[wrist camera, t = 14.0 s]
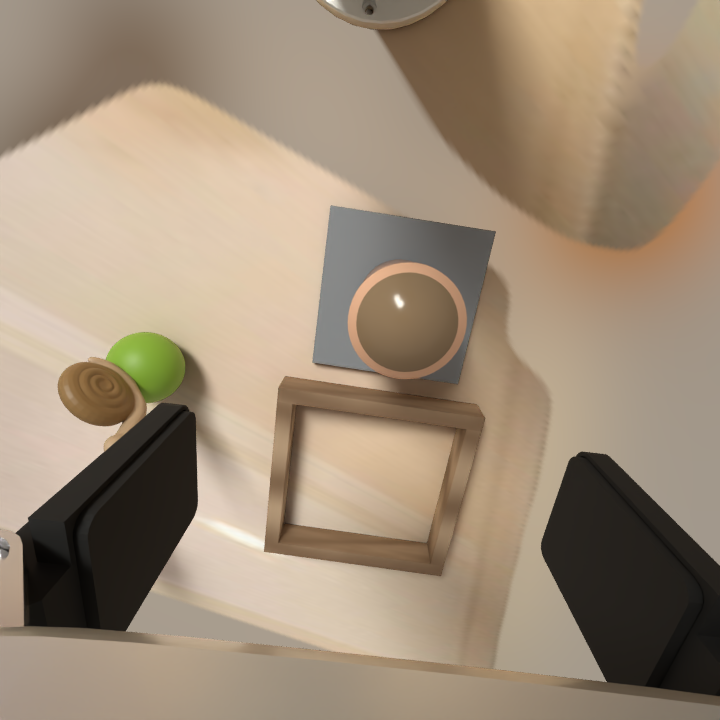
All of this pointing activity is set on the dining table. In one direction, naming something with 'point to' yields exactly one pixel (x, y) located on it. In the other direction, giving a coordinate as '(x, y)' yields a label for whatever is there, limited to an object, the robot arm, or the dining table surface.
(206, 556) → the dining table surface
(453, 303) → the terracotta pot
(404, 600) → the dining table surface
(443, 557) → the frame
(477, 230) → the grey mat
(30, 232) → the dining table surface
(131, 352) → the snail figurine
